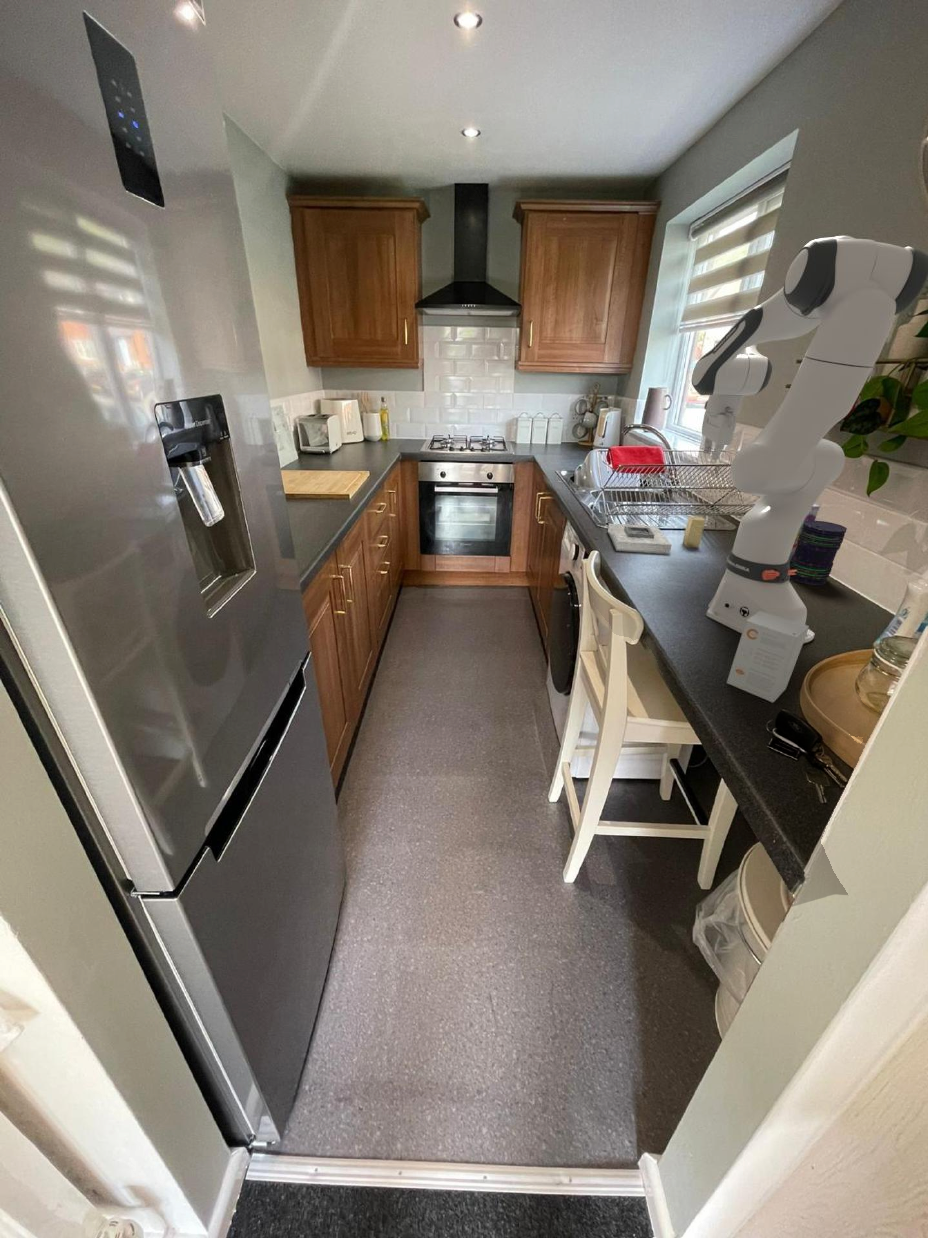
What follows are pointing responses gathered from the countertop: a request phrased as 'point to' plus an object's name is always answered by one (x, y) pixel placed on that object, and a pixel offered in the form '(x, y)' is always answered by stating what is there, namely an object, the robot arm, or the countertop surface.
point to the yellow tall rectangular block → (693, 531)
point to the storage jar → (816, 551)
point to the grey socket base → (639, 539)
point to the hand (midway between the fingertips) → (710, 456)
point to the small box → (767, 655)
